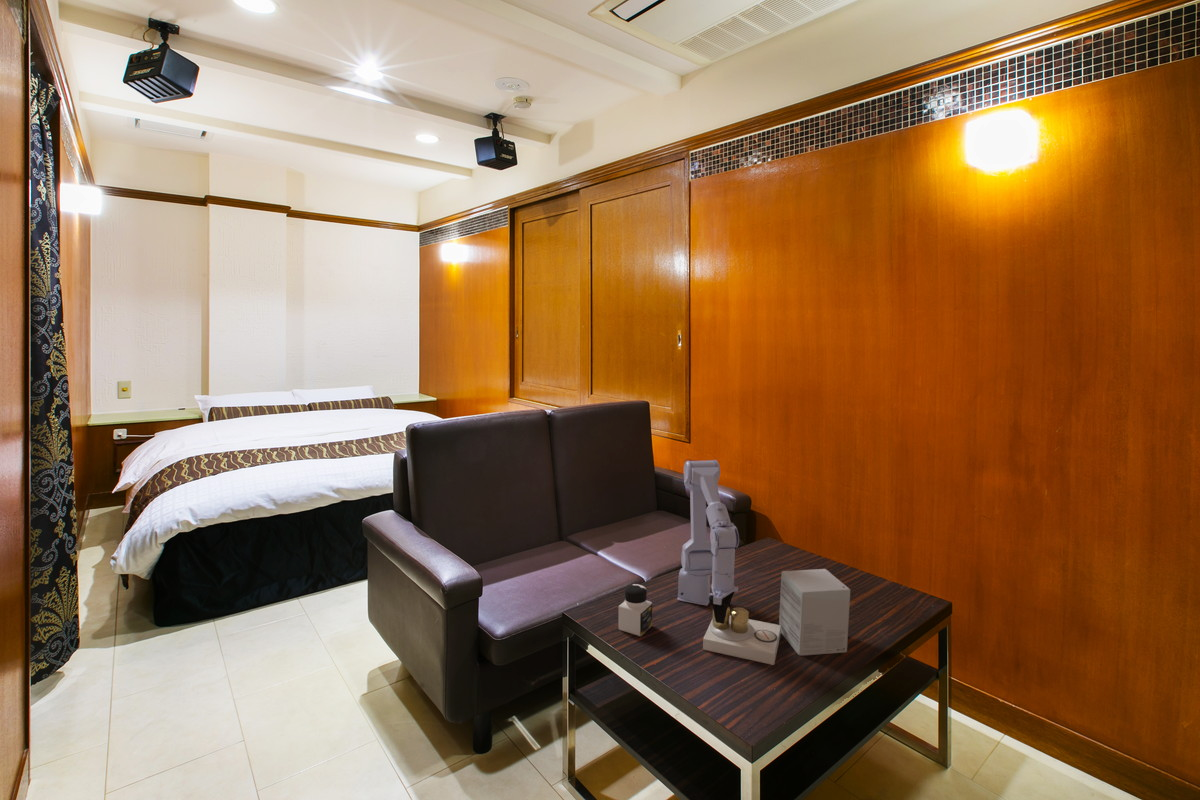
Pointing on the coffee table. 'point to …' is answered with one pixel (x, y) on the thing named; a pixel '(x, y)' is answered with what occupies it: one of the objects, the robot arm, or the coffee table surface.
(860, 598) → the coffee table surface
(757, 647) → the scale
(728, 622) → the cylinder
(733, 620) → the cylinder
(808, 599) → the supplement box
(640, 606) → the medicine bottle
